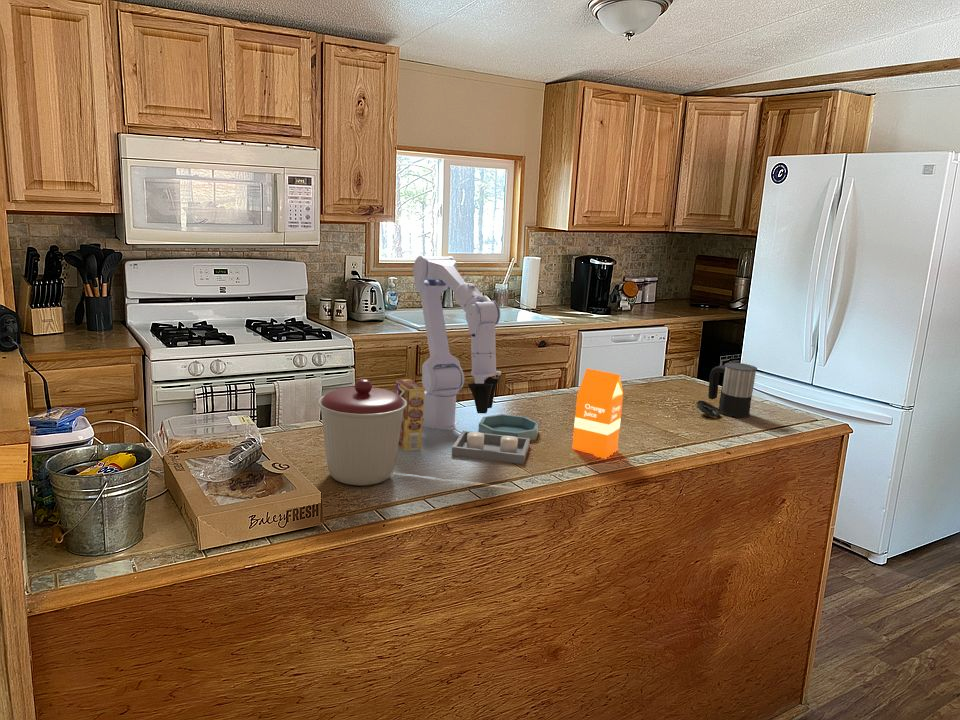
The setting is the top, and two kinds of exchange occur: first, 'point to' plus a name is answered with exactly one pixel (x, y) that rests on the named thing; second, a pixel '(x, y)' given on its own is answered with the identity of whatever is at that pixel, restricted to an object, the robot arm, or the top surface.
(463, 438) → the tray
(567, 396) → the top surface
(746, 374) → the milk frother
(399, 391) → the candy box
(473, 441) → the pebble
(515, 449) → the pebble
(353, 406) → the canister
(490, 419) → the bowl
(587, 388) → the orange juice
